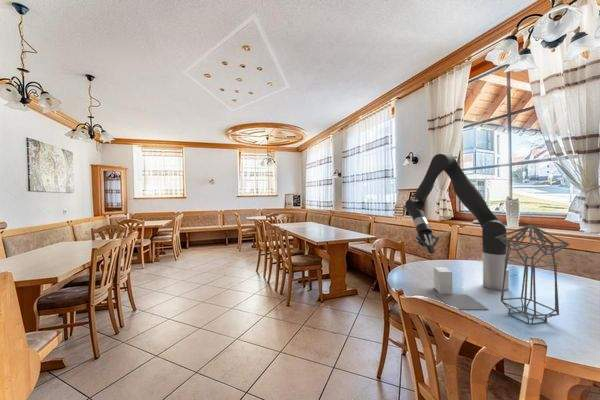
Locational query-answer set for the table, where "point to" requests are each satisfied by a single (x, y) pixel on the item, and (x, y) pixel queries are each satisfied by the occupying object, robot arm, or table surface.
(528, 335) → the table surface
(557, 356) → the table surface
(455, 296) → the mat
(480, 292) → the table surface
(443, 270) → the small box
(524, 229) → the geometric lantern
